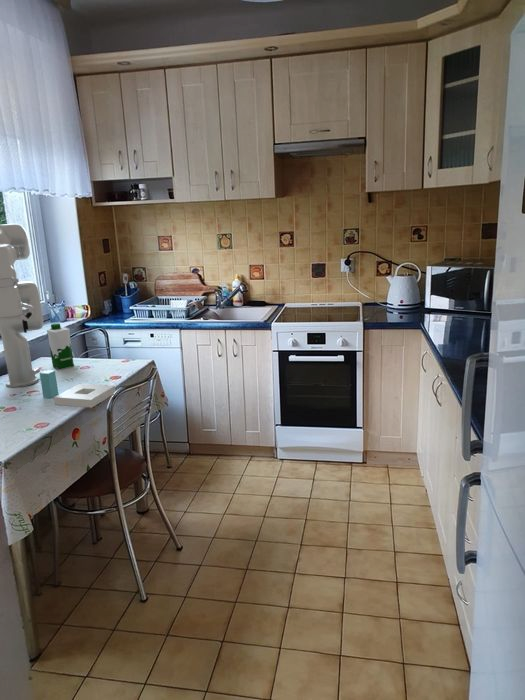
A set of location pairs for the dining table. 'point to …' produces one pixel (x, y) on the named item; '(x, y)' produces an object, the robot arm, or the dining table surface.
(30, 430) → the dining table surface
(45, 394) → the plug
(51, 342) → the milk carton
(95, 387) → the white square-hole board
